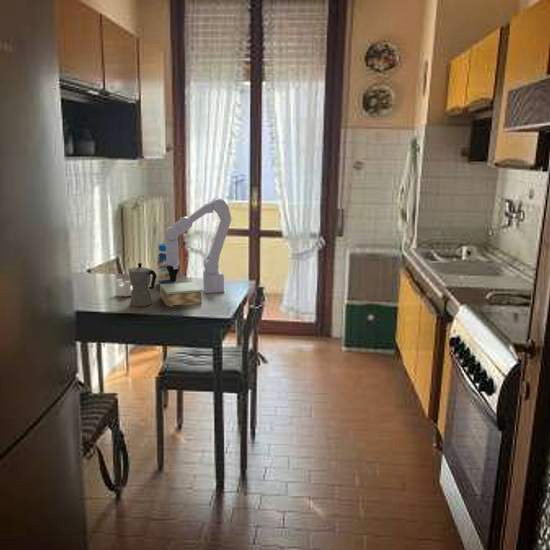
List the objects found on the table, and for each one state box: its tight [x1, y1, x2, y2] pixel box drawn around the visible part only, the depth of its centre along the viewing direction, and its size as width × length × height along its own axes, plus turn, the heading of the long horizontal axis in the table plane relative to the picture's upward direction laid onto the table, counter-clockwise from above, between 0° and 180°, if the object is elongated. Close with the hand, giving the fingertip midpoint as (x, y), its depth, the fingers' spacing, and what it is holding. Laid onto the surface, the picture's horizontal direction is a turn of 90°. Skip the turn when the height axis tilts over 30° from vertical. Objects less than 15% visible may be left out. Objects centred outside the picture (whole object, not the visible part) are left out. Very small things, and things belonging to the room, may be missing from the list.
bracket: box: [115, 278, 151, 297], centre depth 251 cm, size 13×7×8 cm, turn 139°
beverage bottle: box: [156, 243, 176, 285], centre depth 271 cm, size 8×8×20 cm
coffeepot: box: [127, 262, 158, 307], centre depth 232 cm, size 15×9×18 cm, turn 61°
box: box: [159, 286, 203, 307], centre depth 240 cm, size 15×15×5 cm
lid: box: [159, 281, 203, 295], centre depth 240 cm, size 15×16×4 cm
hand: (173, 281), depth 254 cm, fingers closed
